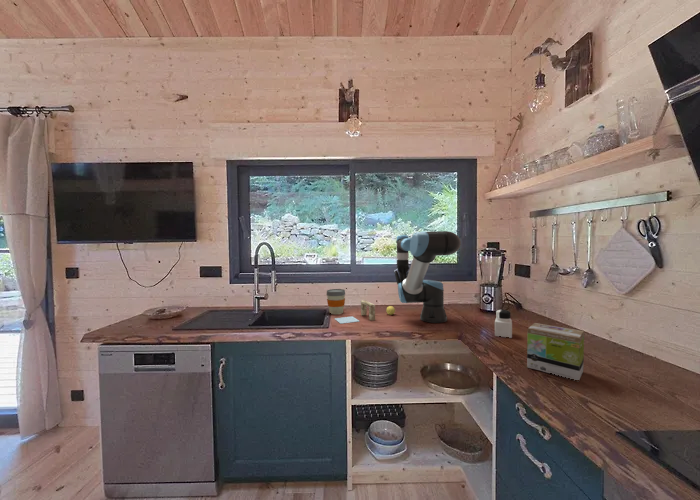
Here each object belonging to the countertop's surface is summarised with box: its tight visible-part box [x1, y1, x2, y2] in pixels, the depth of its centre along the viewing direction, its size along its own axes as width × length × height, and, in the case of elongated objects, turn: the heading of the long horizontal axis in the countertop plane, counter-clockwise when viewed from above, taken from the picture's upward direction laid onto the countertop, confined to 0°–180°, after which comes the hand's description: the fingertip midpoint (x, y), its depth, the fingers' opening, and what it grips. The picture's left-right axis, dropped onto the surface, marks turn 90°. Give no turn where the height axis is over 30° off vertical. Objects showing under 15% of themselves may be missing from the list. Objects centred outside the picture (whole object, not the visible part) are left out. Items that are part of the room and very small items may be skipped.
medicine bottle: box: [494, 309, 513, 339], centre depth 139 cm, size 7×7×12 cm
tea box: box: [526, 322, 585, 381], centre depth 100 cm, size 15×10×15 cm, turn 45°
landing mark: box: [333, 316, 360, 325], centre depth 172 cm, size 12×12×1 cm
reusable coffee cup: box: [326, 288, 346, 315], centre depth 190 cm, size 13×13×15 cm
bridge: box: [360, 300, 376, 321], centre depth 177 cm, size 3×14×9 cm, turn 21°
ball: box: [385, 305, 396, 316], centre depth 182 cm, size 6×6×6 cm
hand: (403, 295), depth 186 cm, fingers closed
